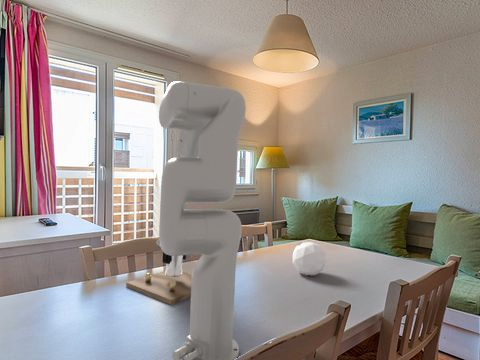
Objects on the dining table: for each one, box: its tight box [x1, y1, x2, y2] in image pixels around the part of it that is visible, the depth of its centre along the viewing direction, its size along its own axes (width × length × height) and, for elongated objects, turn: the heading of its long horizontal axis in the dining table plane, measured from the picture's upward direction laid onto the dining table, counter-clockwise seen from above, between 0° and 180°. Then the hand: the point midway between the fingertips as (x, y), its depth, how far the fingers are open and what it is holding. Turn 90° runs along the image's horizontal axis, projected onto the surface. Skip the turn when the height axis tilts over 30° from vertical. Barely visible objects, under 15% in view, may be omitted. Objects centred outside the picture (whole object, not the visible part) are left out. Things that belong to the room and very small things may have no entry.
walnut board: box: [125, 269, 192, 306], centre depth 108 cm, size 22×22×4 cm
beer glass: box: [164, 255, 183, 277], centre depth 107 cm, size 7×7×15 cm
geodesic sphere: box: [291, 240, 327, 276], centre depth 127 cm, size 14×14×14 cm
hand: (174, 260), depth 108 cm, fingers closed on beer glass, 6 cm apart
